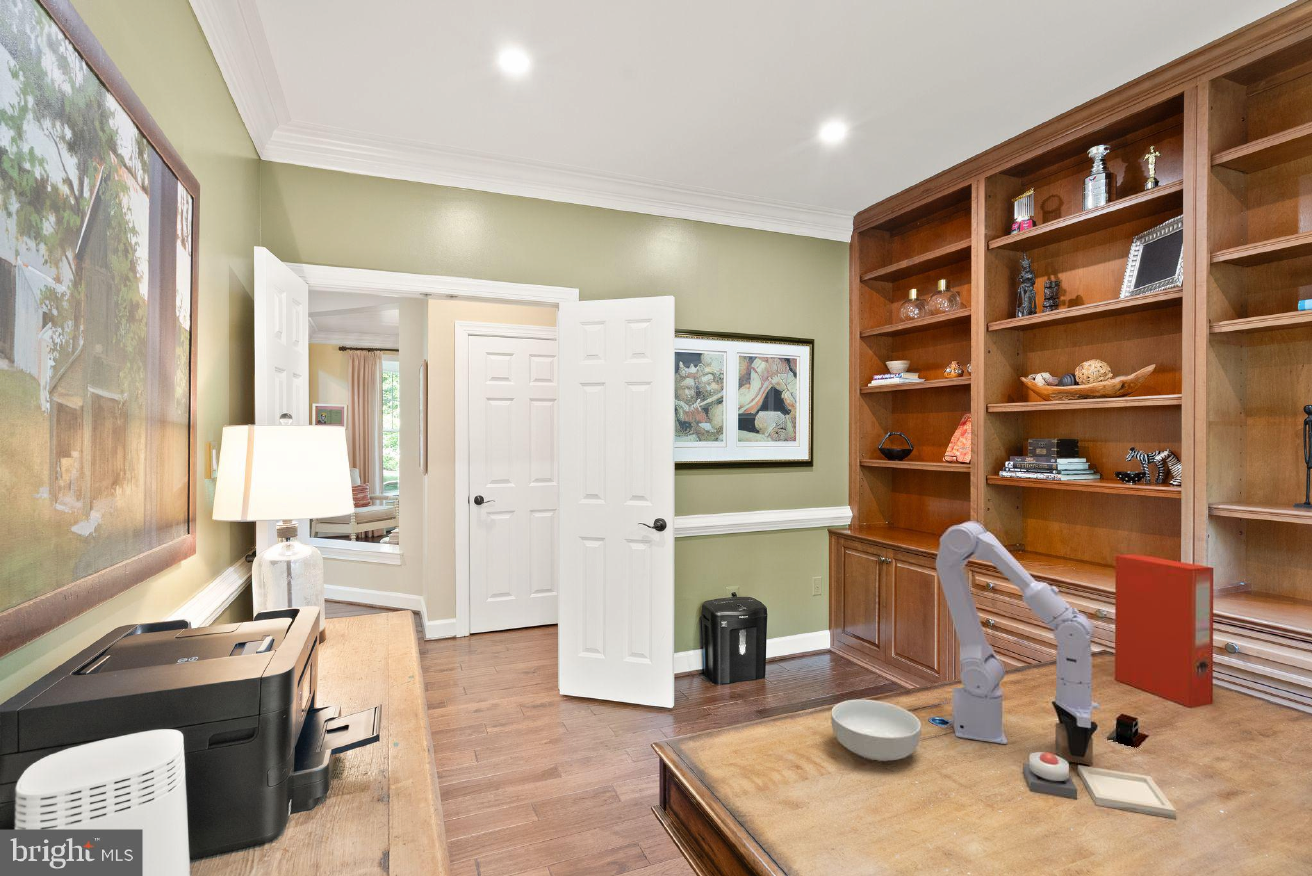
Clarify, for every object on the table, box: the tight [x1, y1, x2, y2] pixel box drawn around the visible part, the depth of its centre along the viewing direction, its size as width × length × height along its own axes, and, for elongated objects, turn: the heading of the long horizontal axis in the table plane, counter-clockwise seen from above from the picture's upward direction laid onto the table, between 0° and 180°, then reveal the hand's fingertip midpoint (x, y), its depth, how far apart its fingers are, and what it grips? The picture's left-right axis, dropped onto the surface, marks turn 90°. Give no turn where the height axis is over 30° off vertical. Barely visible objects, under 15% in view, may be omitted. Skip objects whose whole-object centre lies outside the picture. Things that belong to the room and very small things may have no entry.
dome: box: [1028, 751, 1070, 783], centre depth 113 cm, size 6×6×5 cm
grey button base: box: [1022, 762, 1078, 800], centre depth 113 cm, size 7×7×2 cm
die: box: [1054, 722, 1094, 766], centre depth 121 cm, size 5×5×5 cm
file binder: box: [1114, 553, 1214, 708], centre depth 154 cm, size 8×17×32 cm, turn 17°
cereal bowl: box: [830, 699, 922, 762], centre depth 124 cm, size 17×17×7 cm
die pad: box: [1077, 764, 1177, 820], centre depth 109 cm, size 11×11×1 cm
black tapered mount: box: [1106, 713, 1150, 749], centre depth 130 cm, size 12×7×5 cm, turn 129°
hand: (1073, 748), depth 121 cm, fingers closed on die, 5 cm apart
